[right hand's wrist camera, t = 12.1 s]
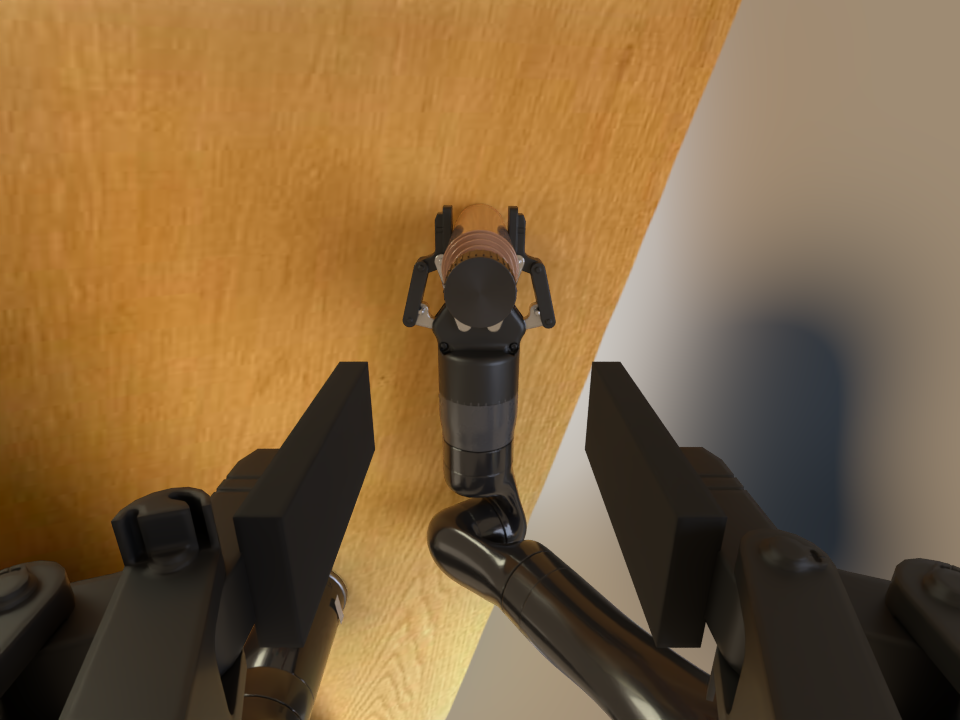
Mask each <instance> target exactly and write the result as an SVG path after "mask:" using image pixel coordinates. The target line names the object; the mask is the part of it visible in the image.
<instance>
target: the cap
mask: <svg viewBox="0 0 960 720" xmlns="http://www.w3.org/2000/svg"><path fill="white" fill-rule="evenodd" d="M516 284H517V283H516V280H515V276H514V273H513V270H512V269H511V268H510V265H509V263H507V262H506V261H505V259H504V258H502V257H501V256H499V255H498V253H497V254H496V253H494V252H492V251H491V250H490V251H487V250H484V249H483V250H477V249H475V250H473V251H468V252H467V253H465V254H461V256H460V257H459V258H456V259H455V261H454V263H453V264H451V266H450V269H449V270H448V271H447V275H446V278H445V282H444V285H445V286H444V290H443V293H444V300H445V303H446V306H447V308H448V310H449V311H450V313H451V314H452V315H453V317H455V318H456V319H457V320H458V321H459V322H461V323H463V324H464V325H467V326H470V327H474V328H486V327H491V326H494V325H496V324H498V323H500V322H501V321H503V320H504V319H505V318H506V317H507V316H508V315H509V314H510V312H511V310H512V309H513V307H514V304H515V301H516V294H517V288H516Z"/></svg>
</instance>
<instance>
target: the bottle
mask: <svg viewBox="0 0 960 720" xmlns="http://www.w3.org/2000/svg"><path fill="white" fill-rule="evenodd" d="M475 249H477V250H483V249H484V250H487V251H490V250H491V251H492V252H494V253H496V254H497V253H498V255H499V256H501V257H502V258H504V259H505V261H506V262H507V263H509V265H510V268H511V269H512V270H513V273H514V276H515V280H516V282H517V279H518V274H519V263H518V258H517V255H516V253H515V250H514V247H513V245H512V242H511V239H510V237H509V234H508V232H507V229H506V226H505V224H504V221H503V218H502V217H501V215H500V214H499V212H498V211H497V210H496V209H494V208H493V207H491V206H489V205H485V204H475V205H471V206H469V207H467V208H466V209H465V210H463V211H462V212H461V214H460V215H459V217H458V219H457V221H456V224H455V227H454V229H453V232H452V235H451V237H450V240H449V243H448V245H447V248H446V251H445V253H444V256H443V260H442V266H441V269H442V277H443V281H444V282H445V278H446V275H447V271H448V270H449V269H450V266H451V264H453V263H454V261H455V259H456V258H459V257H460V256H461V254H465V253H467V252H468V251H473V250H475Z"/></svg>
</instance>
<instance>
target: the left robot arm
mask: <svg viewBox="0 0 960 720" xmlns="http://www.w3.org/2000/svg"><path fill="white" fill-rule="evenodd" d="M525 225H526V221H525V218H524V215H523V214H522V213H518V207H517V206H508V234H509V237H510V239H511V242H512V245H513V247H514V250H515V253H516V255H517V258H518V263H519V274H518V278H519V276H520V273H521V271H525V272H528V273H530V274H531V279H532V284H533V289H534V293H535V298H536V302H533V303H532V304H531V305H530V307H529V313H528V315H527V316H525V317H523V316H522V315H521V313H520V312H519V310H518V309H517V308H516V306H515V305H514V307H513V309H512V310H511V312H510V314H509V315H508V316H507V317H506V318H505V319H504V320H503V321H501V322H500V323H498V324H496V325H494V326H491V327H486V328H474V327H470V326H467V325H464V324H463V323H461V322H459V321H458V320H457V319H456V318H455V317H453V315H452V314H451V313H450V311H449V310H448V308H447V306H446V303H444V305H443V306H442V308H441V309H440V310H439V312H438V313H437V314H436V316H432V315H431V314H430V312H429V305H428V303H427V302H425V301H422V300H423V295H424V291H425V287H426V282H427V278H428V273H429V272H432V271H435V270H438V273H439V275H440V278H441V281H442V284H443V288H444V286H445V285H444V281H443V277H442V269H441V266H442V260H443V256H444V253H445V251H446V248H447V245H448V243H449V240H450V237H451V235H452V232H453V217H452V205H444V206H443V213H438V214H437V216H436V219H435V248H436V249H435V252H434V253H433V254H431V255H428V256H426V257H420V258H419V259H418V260H417V262H416V264H415V265H414V269H413V274H412V279H411V283H410V288H409V293H408V297H407V302H406V307H405V311H404V316H403V323H404V325H405V326H407V327H413V326H414V325H419V326H423V327H427V328H431V329H432V331H433V333H434V334H435V336H436V338H437V341H438V363H439V408H440V420H441V425H442V433H443V469H444V477H445V481H446V483H447V485H448V486H449V488H450V489H451V490H452V491H454V492H455V493H457V494H459V495H461V496H465V497H471V499H469V500H466V501H463V502H461V503H458V504H456V505H453V506H450V507H448V508H445V509H443V510H441V511H440V512H438V513H437V514H436V515H435V516H434V517H433V518H432V520H431V521H430V523H429V526H428V530H427V544H428V548H429V551H430V554H431V556H432V558H433V560H434V561H435V563H436V564H437V566H438V567H439V568H440V569H441V570H442V571H443V572H444V573H445V574H446V575H447V576H448V577H449V578H451V579H452V580H453V581H455V582H456V583H458V584H460V585H461V586H463V587H465V588H467V589H468V590H470V591H472V592H474V593H475V594H477V595H479V596H480V597H482V598H484V599H485V600H487V601H489V602H491V603H493V604H495V605H496V606H498V607H499V608H500V609H501V610H502V611H503V613H504V614H505V615H506V616H507V617H508V618H509V619H510V620H511V621H512V623H513V624H514V625H515V626H516V627H517V628H518V629H519V630H520V631H521V633H522V634H523V635H524V636H525V637H526V638H527V639H528V640H529V641H530V642H531V643H532V644H533V646H534V647H535V648H536V649H537V650H538V651H539V652H540V653H541V654H542V655H543V656H544V657H545V658H547V659H548V660H549V661H550V662H551V663H552V664H553V665H554V666H555V667H556V668H558V669H559V670H560V671H561V672H562V673H563V674H565V675H566V676H567V677H568V678H569V679H571V680H572V681H573V682H574V683H575V684H576V685H577V686H579V687H580V688H581V689H582V690H583V691H584V692H585V693H586V694H587V695H589V696H590V697H591V698H592V699H593V700H594V701H595V702H596V703H597V704H598V705H599V706H600V707H601V709H602V710H603V711H604V712H605V713H606V714H607V715H608V716H609V717H610V718H611V719H612V720H719V718H718V708H717V699H716V691H715V695H714V700H713V702H712V701H708V700H706V696H707V689H708V684H709V680H710V674H708V673H706V672H705V671H703V670H701V669H700V668H698V667H697V666H695V665H694V664H692V663H691V662H689V661H688V660H686V659H685V658H683V657H682V656H680V655H679V654H677V653H676V652H674V651H673V650H672V649H670V648H656V645H655V642H654V639H653V636H652V635H650V634H649V633H648V632H646V631H645V630H644V629H643V628H641V627H640V626H639V625H637V624H636V623H635V622H634V621H632V620H631V619H630V618H629V617H627V616H626V615H625V614H624V613H622V612H621V611H620V610H619V609H618V608H616V607H615V606H614V605H613V604H612V603H611V602H609V601H608V600H607V599H606V598H605V597H604V596H602V595H601V594H600V593H599V592H598V591H597V590H595V589H594V588H593V587H592V586H591V585H590V584H589V583H588V582H586V581H585V580H584V579H583V578H582V577H581V576H579V575H578V574H577V573H576V572H575V571H574V570H572V569H571V568H570V567H569V566H568V565H566V564H565V563H564V562H563V561H562V560H561V559H559V558H558V557H557V556H556V555H555V554H554V553H552V552H551V551H550V550H549V549H548V548H546V547H545V546H543V545H542V544H540V543H539V542H536V541H532V540H524V538H525V535H526V529H527V524H526V518H525V514H524V511H523V508H522V505H521V501H520V498H519V494H518V489H517V485H516V481H515V477H514V472H513V466H512V465H513V445H514V429H515V424H516V418H517V405H518V379H519V353H520V341H521V339H522V337H523V335H524V334H525V332H526V329H530V328H535V327H539V326H544V327H545V328H548V329H549V328H552V327H553V326H554V325H555V323H556V321H555V316H554V311H553V306H552V300H551V295H550V290H549V285H548V280H547V275H546V270H545V267H544V265H543V263H542V261H541V260H540V259H539V258H534V257H531V256H529V255H527V254H526V253H525ZM517 281H518V279H517ZM516 283H517V282H516ZM346 600H347V590H346V587H345V585H344V583H343V581H342V580H341V579H340V578H339V577H338V576H337V575H336V574H335V573H334V572H332V571H331V573H330V576H329V578H328V581H327V584H326V587H325V589H324V592H323V595H322V598H321V600H320V603H319V606H318V609H317V612H316V614H315V617H314V620H313V623H312V625H311V628H310V631H309V634H308V636H307V639H306V642H305V645H304V648H259V643H258V638H257V633H256V628H255V624H254V626H253V629H252V631H251V633H250V635H249V637H248V639H247V641H246V643H245V645H244V647H243V648H244V653H245V658H246V665H247V672H246V682H245V691H244V700H243V710H242V719H241V720H309V719H310V716H311V713H312V709H313V705H314V702H315V699H316V696H317V692H318V689H319V686H320V683H321V679H322V676H323V673H324V669H325V666H326V663H327V660H328V656H329V653H330V650H331V647H332V643H333V640H334V637H335V634H336V630H337V627H338V624H339V621H340V623H342V620H343V617H344V615H343V612H342V611H343V609H344V607H345V604H346Z"/></svg>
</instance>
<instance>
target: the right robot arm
mask: <svg viewBox="0 0 960 720" xmlns="http://www.w3.org/2000/svg"><path fill="white" fill-rule="evenodd" d="M374 451H375V443H374V431H373V419H372V407H371V395H370V383H369V371H368V362H339V364H338V365H337V367H336V368H335V369H334V371H333V372H332V374H331V375H330V377H329V378H328V380H327V381H326V382H325V384H324V385H323V387H322V388H321V390H320V391H319V393H318V394H317V395H316V397H315V398H314V400H313V401H312V403H311V404H310V406H309V407H308V409H307V410H306V411H305V413H304V414H303V416H302V417H301V419H300V420H299V422H298V423H297V424H296V426H295V427H294V429H293V430H292V432H291V433H290V435H289V436H288V437H287V439H286V440H285V442H284V443H283V445H282V446H281V448H280V449H257V450H255V451H254V452H252V453H251V454H249V455H248V456H246V457H245V458H243V459H242V460H240V461H238V463H237V464H236V465H235V466H234V468H233V469H232V470H231V471H230V473H229V474H228V475H227V478H226V479H224V480H223V481H222V483H221V484H220V485H219V486H218V488H217V491H216V492H214V493H213V494H212V495H211V497H210V496H209V495H208V494H207V493H205V492H204V491H203V490H201V489H196V488H191V487H181V488H170V489H166V490H162V491H158V492H154V493H151V494H149V495H147V496H144V497H142V498H140V499H137V500H135V501H134V502H132V503H131V504H129V505H128V506H126V507H125V508H123V509H122V510H120V511H119V513H118V514H117V515H116V516H115V517H114V519H113V520H112V521H111V523H112V527H113V530H114V533H115V536H116V539H117V543H118V546H119V549H120V552H121V556H122V559H123V562H124V565H125V567H124V569H123V571H121V572H117V573H114V574H109V575H105V576H100V577H95V578H91V579H86V580H82V581H77V582H73V583H70V582H69V579H68V577H67V574H66V571H65V568H64V567H62V566H61V565H60V564H58V563H57V562H52V561H42V560H41V561H34V562H28V563H22V564H19V565H15V566H11V567H10V568H6V569H3V570H1V571H0V720H241V719H242V710H243V700H244V691H245V682H246V672H247V665H246V658H245V653H244V648H243V646H244V644H245V642H246V640H247V638H248V636H249V634H250V632H251V630H252V628H253V626H254V624H255V628H256V633H257V638H258V643H259V648H304V645H305V642H306V639H307V636H308V634H309V631H310V628H311V625H312V623H313V620H314V617H315V614H316V612H317V609H318V606H319V603H320V600H321V598H322V595H323V592H324V589H325V587H326V584H327V581H328V578H329V576H330V573H331V570H332V567H333V564H334V562H335V559H336V556H337V553H338V551H339V548H340V545H341V542H342V540H343V537H344V534H345V531H346V528H347V526H348V523H349V520H350V517H351V515H352V512H353V509H354V506H355V504H356V501H357V498H358V495H359V492H360V490H361V487H362V484H363V481H364V479H365V476H366V473H367V470H368V468H369V465H370V462H371V459H372V456H373V454H374ZM585 451H586V454H587V456H588V459H589V462H590V465H591V467H592V470H593V473H594V476H595V479H596V481H597V484H598V487H599V490H600V492H601V495H602V498H603V501H604V504H605V506H606V509H607V512H608V514H609V517H610V520H611V523H612V526H613V528H614V531H615V534H616V537H617V539H618V542H619V545H620V548H621V550H622V553H623V556H624V559H625V562H626V564H627V567H628V570H629V573H630V576H631V578H632V581H633V584H634V587H635V589H636V592H637V595H638V598H639V600H640V603H641V606H642V609H643V611H644V614H645V617H646V620H647V622H648V625H649V628H650V631H651V634H652V636H653V639H654V642H655V645H656V648H700V647H701V642H702V638H703V633H704V628H705V623H707V625H708V627H709V629H710V631H711V633H712V635H713V637H714V639H715V641H716V643H717V649H716V653H715V657H714V662H713V666H712V671H711V675H710V680H709V684H708V689H707V696H706V700H708V701H712V702H713V700H714V695H715V691H716V699H717V708H718V718H719V720H960V568H959V567H956V566H954V565H950V564H947V563H943V562H940V561H934V560H928V559H922V558H916V559H907V560H904V561H902V562H901V563H900V564H898V565H897V566H896V568H895V571H894V574H893V577H892V579H891V581H889V580H884V579H880V578H875V577H870V576H866V575H861V574H857V573H852V572H847V571H844V570H840V569H837V568H836V566H835V565H834V563H833V562H832V560H831V559H830V558H829V556H828V555H827V554H826V553H825V552H824V551H823V550H821V549H820V548H819V547H817V546H816V545H815V544H814V543H812V542H810V541H808V540H806V539H804V538H802V537H800V536H798V535H796V534H792V533H789V532H785V531H782V530H778V529H777V528H776V527H775V525H774V524H773V523H772V522H771V520H770V519H769V518H768V517H767V515H766V514H765V513H764V512H763V510H762V509H761V508H760V507H759V505H758V504H757V503H756V502H755V500H754V499H753V498H752V497H751V495H750V494H749V493H748V492H747V491H746V490H744V487H743V485H742V484H741V483H740V482H739V481H738V479H737V478H734V474H733V473H732V472H731V471H730V469H729V468H728V467H727V466H726V464H725V463H724V462H723V461H722V460H721V459H720V458H718V457H717V456H715V455H714V454H712V453H711V452H709V451H707V450H706V449H704V448H703V447H679V446H678V445H677V443H676V442H675V440H674V439H673V437H672V436H671V435H670V433H669V432H668V430H667V429H666V427H665V426H664V424H663V423H662V422H661V420H660V419H659V417H658V416H657V414H656V413H655V411H654V410H653V409H652V407H651V406H650V404H649V403H648V401H647V400H646V398H645V397H644V395H643V394H642V393H641V391H640V390H639V388H638V387H637V385H636V384H635V382H634V381H633V380H632V378H631V377H630V375H629V374H628V372H627V371H626V369H625V368H624V367H623V365H622V364H621V362H592V371H591V383H590V395H589V407H588V419H587V431H586V443H585Z"/></svg>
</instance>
